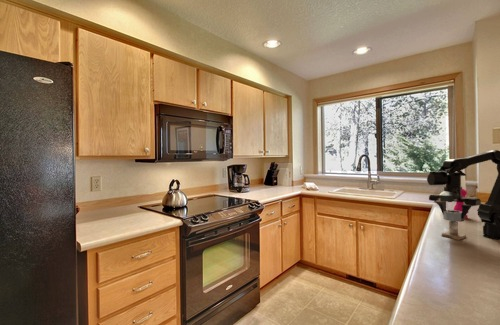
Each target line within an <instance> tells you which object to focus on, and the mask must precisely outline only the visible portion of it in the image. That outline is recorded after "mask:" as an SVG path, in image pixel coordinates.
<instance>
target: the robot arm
mask: <svg viewBox="0 0 500 325" xmlns="http://www.w3.org/2000/svg"><path fill="white" fill-rule="evenodd" d="M488 161H491V162H492V163H494V164H495V165H496V170H497V176H496V180H495V182H494V184H493V186H492V188H491V191H490V194H489V195H488V199H487V201H486V202H485V203H483V202H482V200H481V199H480V198H478V197H466V198H465V199H462V196H461V189H463V186H462V177H463V176H464V177H465V176H467V174H466V173H464V172H463V171H464V170H465V169H467V168H469V166H472V165H477V164H481V163H484V162H488ZM462 170H463V171H462ZM426 181H427V184H428V185H429V186H444V185H445V186H444V188H443V191H441V192H440V193H439V194H437V193H434V194H429V196H428V200H429V201H432V202H433V203H435V204H436V205H437V206H439V208H440V210H441V213H442V215H443V216H444V210H447V203H452V202H455V203H456V202H463V203H464V205H461V206H462V219H464V218H465V216H466V215H468V213H469V211H470V209H471V208H472V207H477V206H478V209H477V210H476V212H477V215H478V217H479V218H480V221H481V223H484V225H482V234H483V235H482V236H483V237H485V238H490V239H495V240H499V241H500V150H498V149H494V150H488V151H484V152H479V153H477V154H473V155H469V156H466V157H460V158H449V159H445V160H443V163H442V165H441V166H440V168H439V169H438V170H437V171H433V170H432V171H429V174H428V175H427V177H426ZM461 186H462V187H461ZM467 212H468V213H467ZM464 220H465V219H464Z"/></svg>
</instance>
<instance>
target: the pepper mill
mask: <svg viewBox="0 0 500 325" xmlns="http://www.w3.org/2000/svg"><path fill="white" fill-rule="evenodd" d="M461 187H462V189H461V196H462V199H465V198H467V197H466V196H467V195H468V192H467V190H466V189H463V186H462V185H461ZM461 205H464V203H463V202H455V205H454V207H453V210H455V211H461V212H462V206H461ZM468 214H469V211H468V212H467V214H466V216H465V218H464V220H465V219H468V218H469V216H468Z"/></svg>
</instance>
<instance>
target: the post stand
mask: <svg viewBox="0 0 500 325" xmlns="http://www.w3.org/2000/svg"><path fill="white" fill-rule="evenodd" d="M448 221H449V220H448ZM448 225H449V228H448V230H449V231H445V232H443V233H441V237H445V238H449V239H454V240H457V241H460V240H463V239H465V238H467V235H466V234H464V233H459V222H456V221H449V224H448Z"/></svg>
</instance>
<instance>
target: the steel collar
mask: <svg viewBox="0 0 500 325" xmlns="http://www.w3.org/2000/svg"><path fill="white" fill-rule="evenodd" d="M443 220H446V221H455V222H458V223H459V222H464V221H465V219H462V212H461V211H455V210H454V209H446V210H444V215H443Z"/></svg>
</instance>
